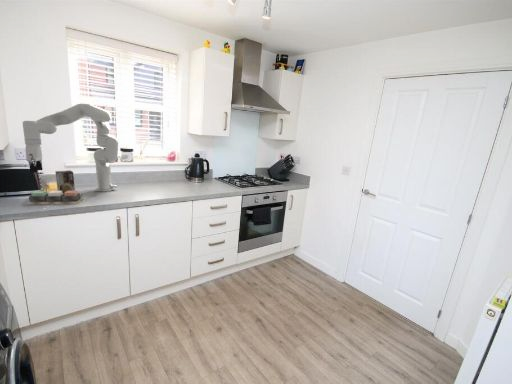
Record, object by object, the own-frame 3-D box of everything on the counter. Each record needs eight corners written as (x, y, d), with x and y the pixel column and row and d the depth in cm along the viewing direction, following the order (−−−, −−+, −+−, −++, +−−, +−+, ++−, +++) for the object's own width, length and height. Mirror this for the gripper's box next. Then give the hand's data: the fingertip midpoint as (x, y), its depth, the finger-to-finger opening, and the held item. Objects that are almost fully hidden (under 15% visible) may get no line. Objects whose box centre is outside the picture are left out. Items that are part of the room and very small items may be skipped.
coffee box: (72, 191, 192) (70, 170, 188) (75, 193, 188) (73, 171, 184) (57, 193, 185) (55, 171, 181) (60, 195, 181) (58, 172, 177)
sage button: (47, 195, 168) (46, 190, 168) (43, 198, 163) (42, 193, 162) (36, 196, 166) (35, 190, 166) (32, 198, 161) (31, 193, 160)
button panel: (83, 198, 178) (82, 192, 177) (78, 203, 168) (77, 196, 167) (34, 199, 169) (33, 192, 168) (26, 204, 159) (25, 197, 158)
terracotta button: (78, 195, 174) (77, 190, 173) (75, 198, 169) (75, 192, 168) (67, 195, 172) (67, 190, 171) (64, 198, 167) (64, 192, 166)
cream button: (62, 195, 171) (62, 190, 171) (59, 198, 166) (59, 192, 165) (52, 195, 169) (51, 190, 169) (48, 198, 164) (48, 193, 163)
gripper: (31, 140, 163) (35, 168, 167) (18, 142, 147) (22, 173, 152) (46, 141, 166) (49, 169, 170) (34, 143, 150) (38, 174, 154)
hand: (36, 171), depth 161 cm, fingers open, 7 cm apart
